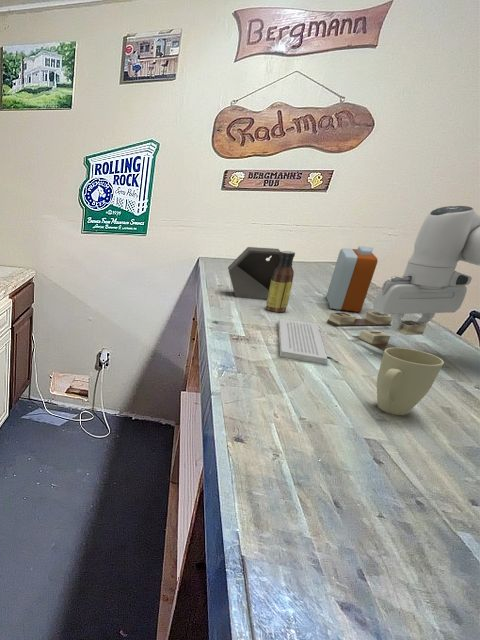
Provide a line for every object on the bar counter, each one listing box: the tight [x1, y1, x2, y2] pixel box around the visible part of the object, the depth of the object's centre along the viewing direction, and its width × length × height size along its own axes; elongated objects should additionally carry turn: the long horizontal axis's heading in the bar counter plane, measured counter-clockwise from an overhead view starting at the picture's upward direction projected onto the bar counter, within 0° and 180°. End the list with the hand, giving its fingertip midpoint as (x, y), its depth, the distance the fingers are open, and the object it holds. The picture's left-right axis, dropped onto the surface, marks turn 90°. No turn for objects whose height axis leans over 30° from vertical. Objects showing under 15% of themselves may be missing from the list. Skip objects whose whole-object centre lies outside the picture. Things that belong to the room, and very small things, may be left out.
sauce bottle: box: [265, 250, 296, 313], centre depth 153 cm, size 6×6×20 cm
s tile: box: [390, 319, 427, 336], centre depth 117 cm, size 5×5×3 cm
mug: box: [376, 347, 445, 416], centre depth 91 cm, size 11×10×12 cm
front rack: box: [351, 329, 399, 352], centre depth 123 cm, size 6×16×4 cm, turn 3°
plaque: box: [277, 318, 328, 365], centre depth 129 cm, size 30×2×10 cm
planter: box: [227, 246, 282, 300], centre depth 170 cm, size 17×8×21 cm
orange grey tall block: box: [326, 245, 378, 313], centre depth 159 cm, size 18×9×21 cm, turn 150°
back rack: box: [326, 311, 393, 328], centre depth 142 cm, size 17×6×4 cm, turn 93°
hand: (407, 329), depth 117 cm, fingers closed on s tile, 4 cm apart
